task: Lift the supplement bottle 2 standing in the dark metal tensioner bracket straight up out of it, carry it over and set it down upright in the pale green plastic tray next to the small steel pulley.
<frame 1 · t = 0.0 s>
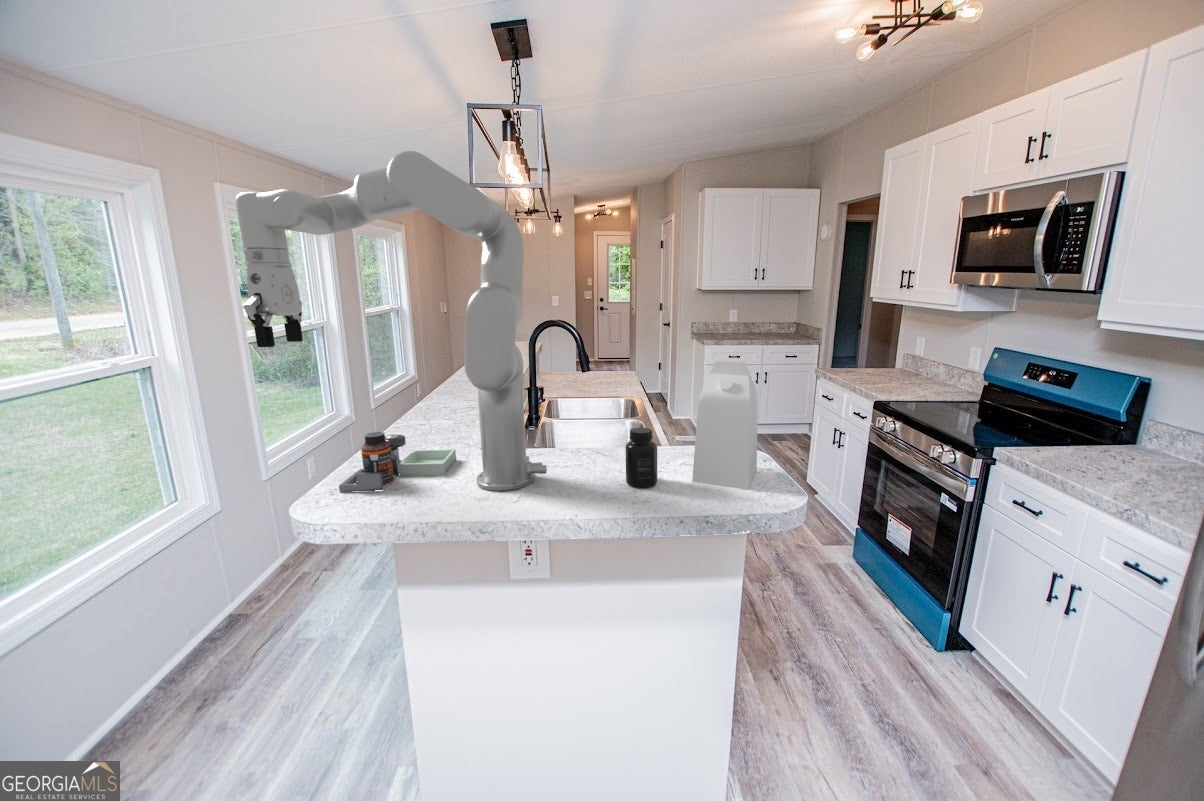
hand: (281, 344, 105), 31 cm above the table, tool pointing down, fingers open, 9 cm apart
supplement bottle: (641, 484, 110), on the table
milk: (725, 477, 113), on the table
supplement bottle 2: (380, 483, 112), on the table
tray: (429, 467, 121), on the table
tensioner bracket: (380, 482, 112), on the table
pulley: (394, 465, 123), on the table
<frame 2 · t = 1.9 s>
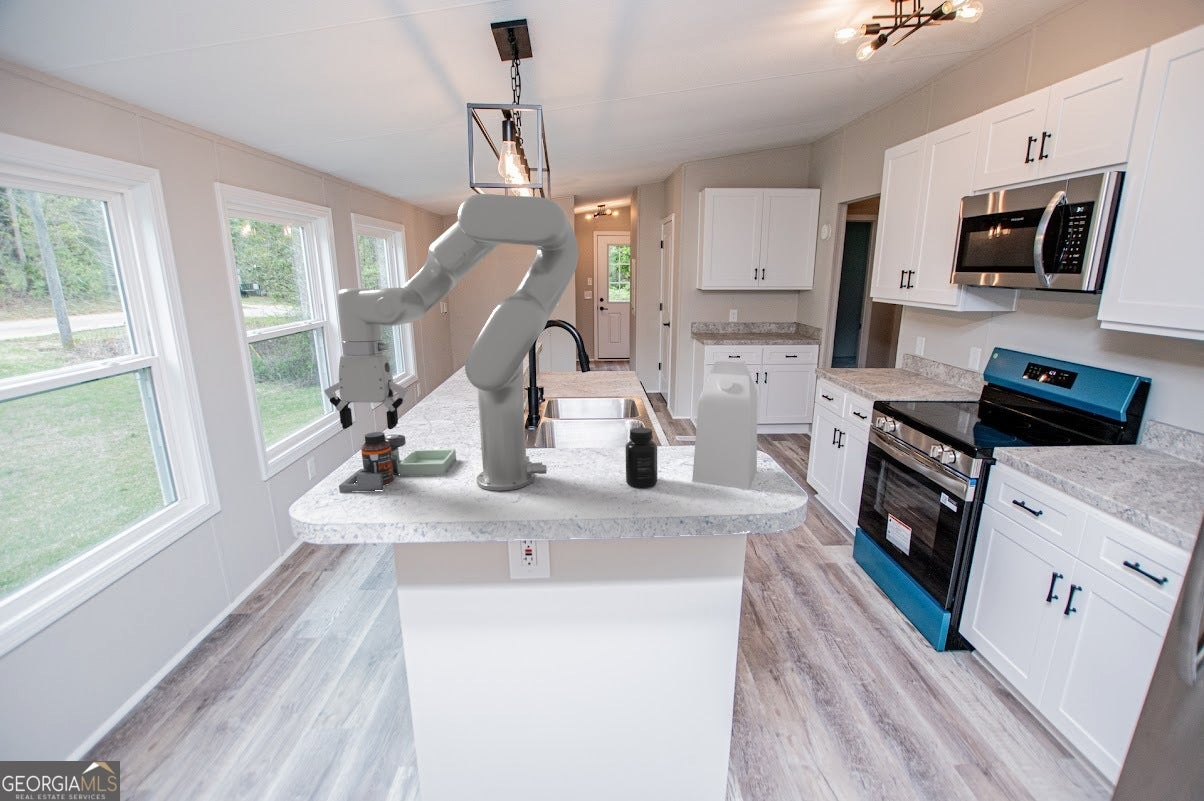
hand: (370, 427, 109), 13 cm above the table, tool pointing down, fingers open, 9 cm apart
nothing on the table moved.
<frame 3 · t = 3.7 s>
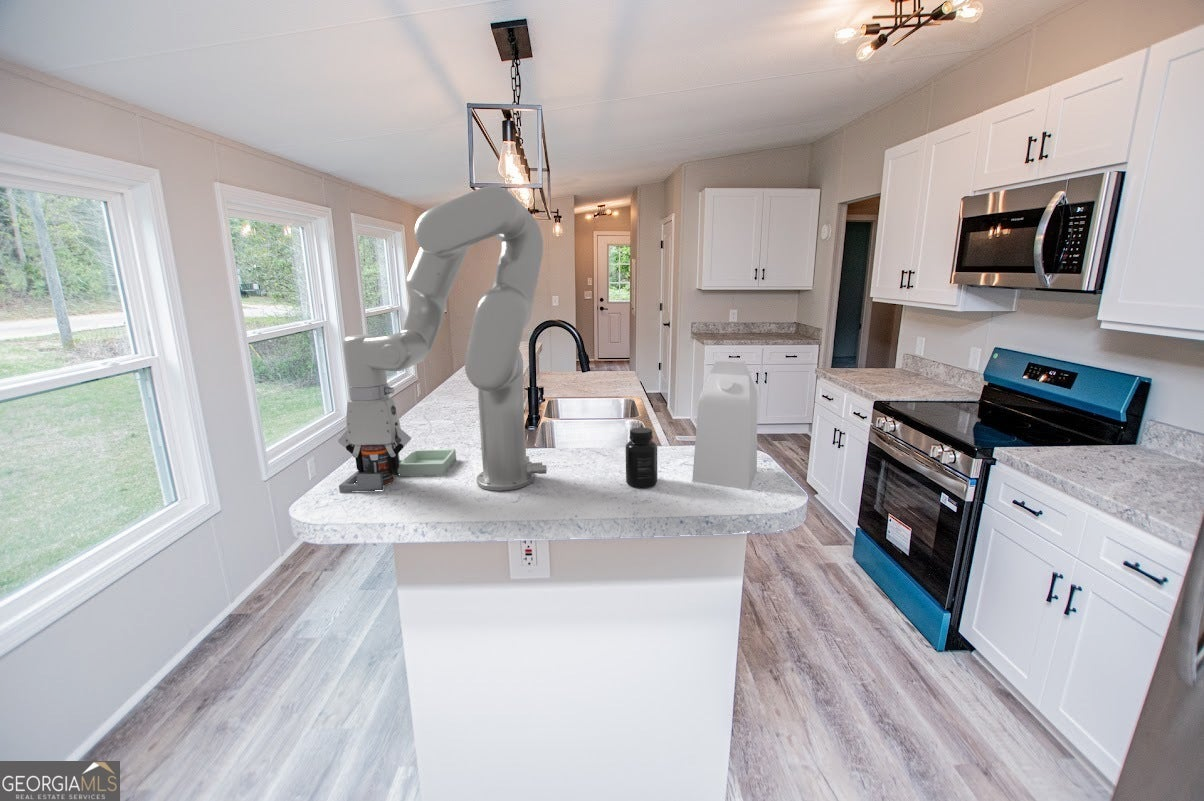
hand: (378, 471, 112), 3 cm above the table, tool pointing down, fingers closed on supplement bottle 2, 6 cm apart
supplement bottle 2: (380, 483, 112), on the table, touching gripper
everything else where it was.
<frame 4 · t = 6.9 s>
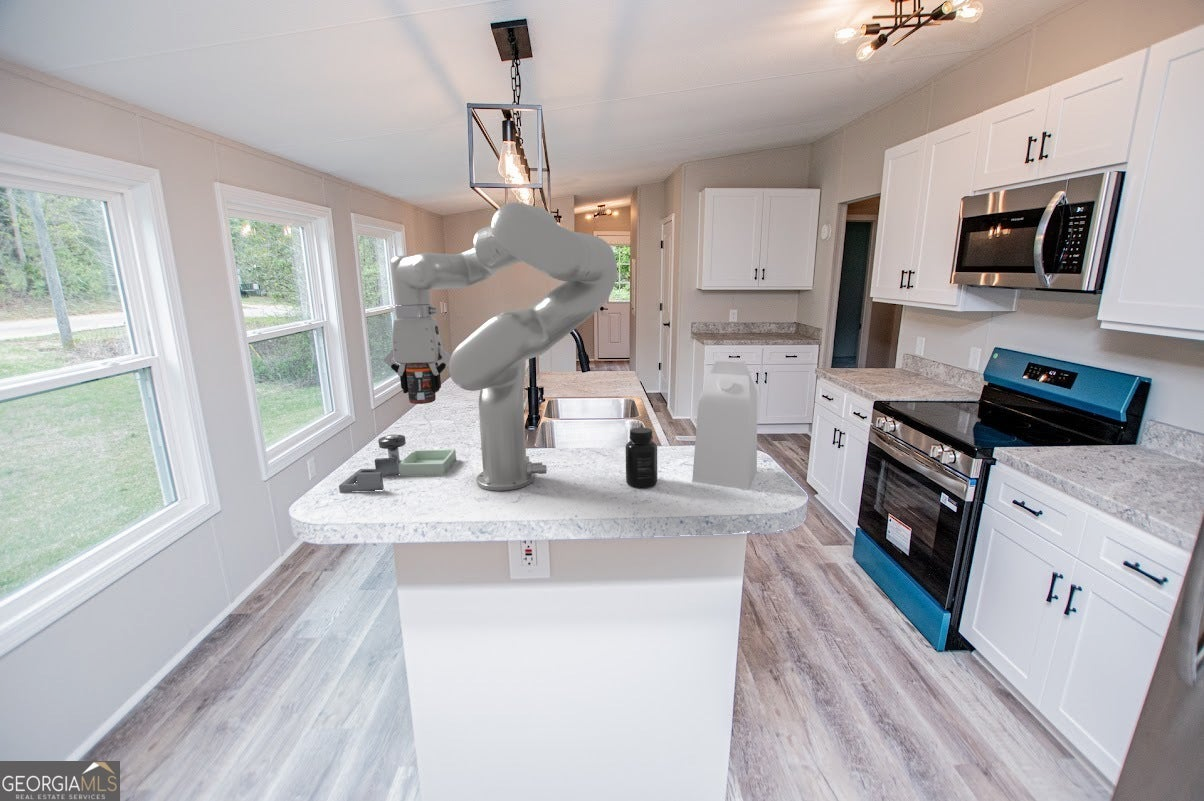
hand: (421, 391, 117), 19 cm above the table, tool pointing down, fingers closed on supplement bottle 2, 6 cm apart
supplement bottle 2: (423, 402, 117), point 16 cm above the table, touching gripper
everything else where it was.
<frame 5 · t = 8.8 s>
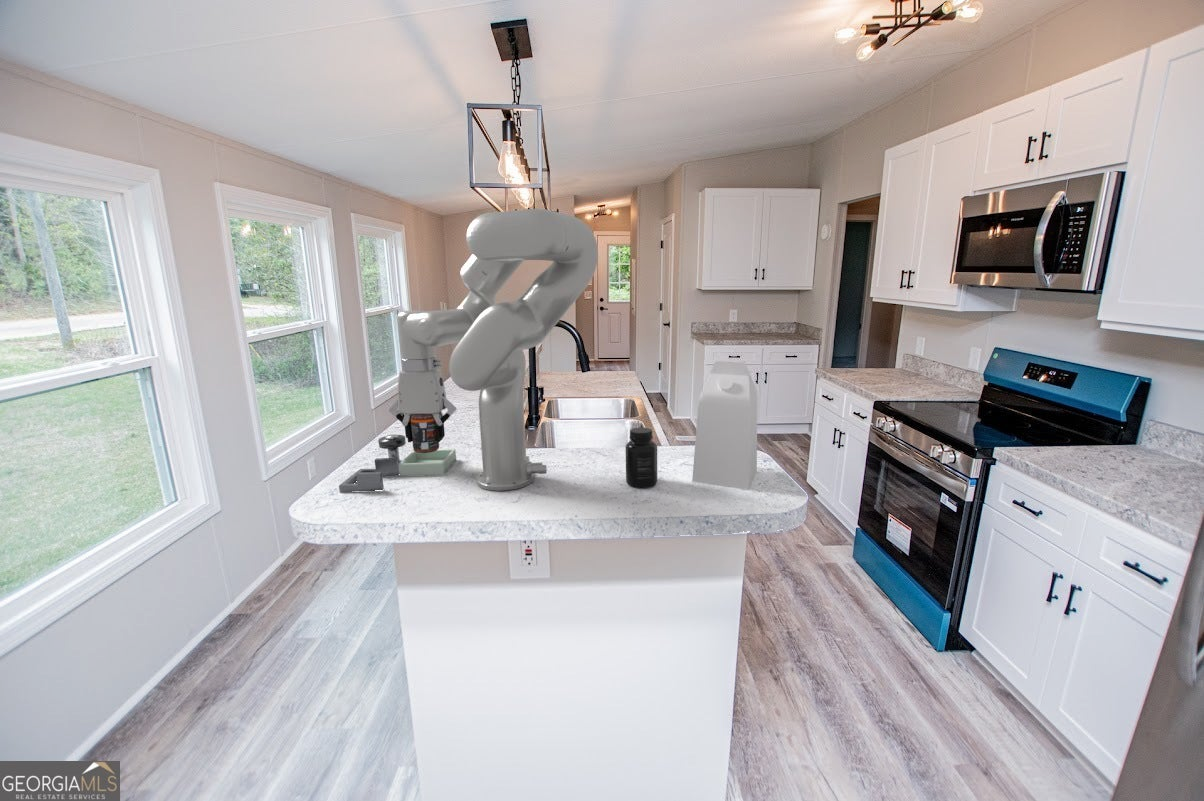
hand: (425, 439, 120), 7 cm above the table, tool pointing down, fingers closed on supplement bottle 2, 6 cm apart
supplement bottle 2: (426, 450, 120), point 4 cm above the table, touching gripper
everything else where it was.
when the fingers open (5 cm above the table, at t = 10.2 s): supplement bottle 2 drops 1 cm, resting on tray.
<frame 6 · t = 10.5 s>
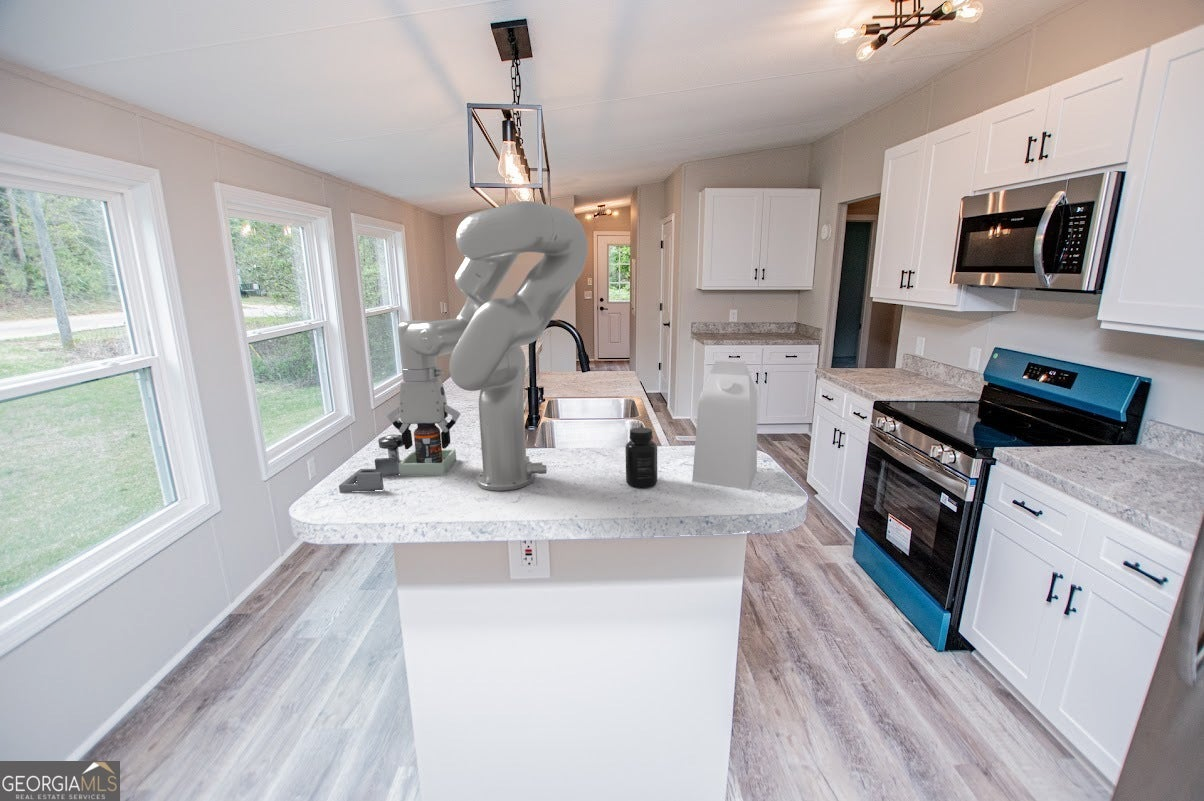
hand: (427, 447, 120), 5 cm above the table, tool pointing down, fingers open, 8 cm apart
supplement bottle 2: (430, 466, 121), resting on tray
everything else where it was.
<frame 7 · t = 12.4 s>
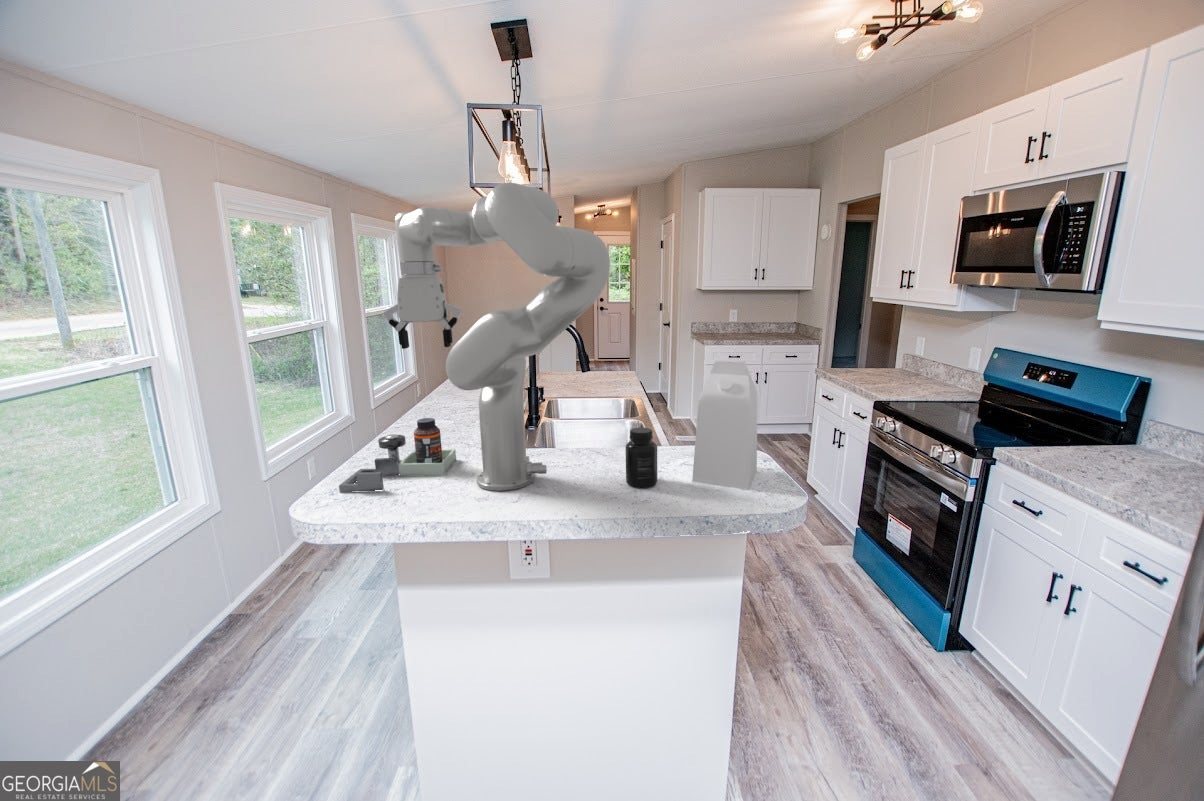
hand: (426, 347, 117), 29 cm above the table, tool pointing down, fingers open, 9 cm apart
nothing on the table moved.
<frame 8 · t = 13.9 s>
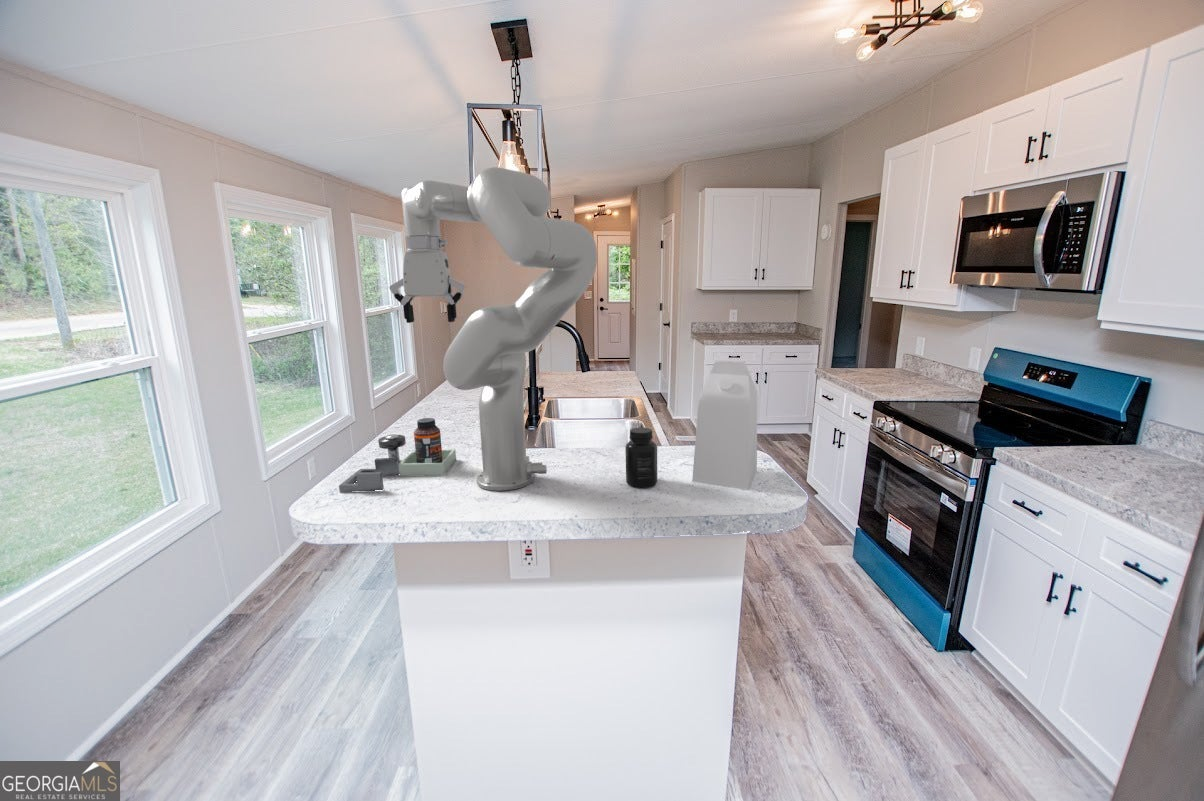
hand: (431, 322, 118), 34 cm above the table, tool pointing down, fingers open, 9 cm apart
nothing on the table moved.
at the end: supplement bottle 2 inside the target area on the tray (0.3 cm from its centre), point 0.4 cm above the tray's base; supplement bottle 2 tilted 0°; the gripper is holding nothing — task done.
